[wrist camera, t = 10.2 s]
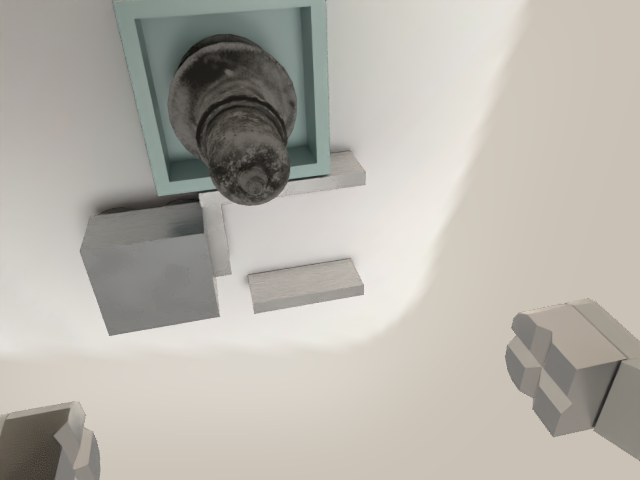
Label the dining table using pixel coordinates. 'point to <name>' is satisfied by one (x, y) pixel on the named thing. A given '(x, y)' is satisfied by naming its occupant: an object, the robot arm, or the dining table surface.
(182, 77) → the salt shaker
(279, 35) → the tray
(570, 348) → the robot arm
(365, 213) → the dining table surface
